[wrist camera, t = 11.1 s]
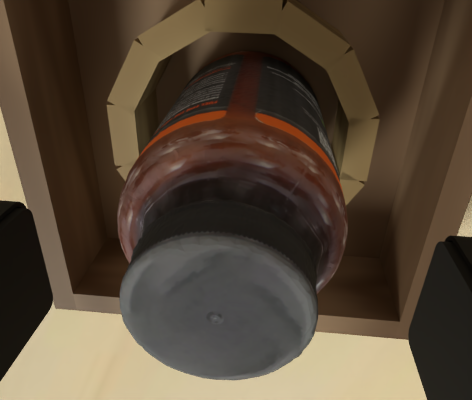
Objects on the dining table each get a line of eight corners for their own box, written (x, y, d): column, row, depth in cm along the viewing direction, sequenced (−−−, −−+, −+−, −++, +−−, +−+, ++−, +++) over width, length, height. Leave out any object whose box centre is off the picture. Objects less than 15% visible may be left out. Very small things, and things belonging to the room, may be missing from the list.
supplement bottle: (159, 141, 19) (27, 342, 9) (221, 17, 16) (126, 113, 6) (272, 202, 20) (264, 442, 10) (349, 96, 17) (443, 287, 7)
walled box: (495, -111, 14) (592, -141, 9) (391, 265, 22) (418, 340, 18) (31, -118, 15) (-69, -148, 11) (97, 242, 23) (55, 308, 19)
